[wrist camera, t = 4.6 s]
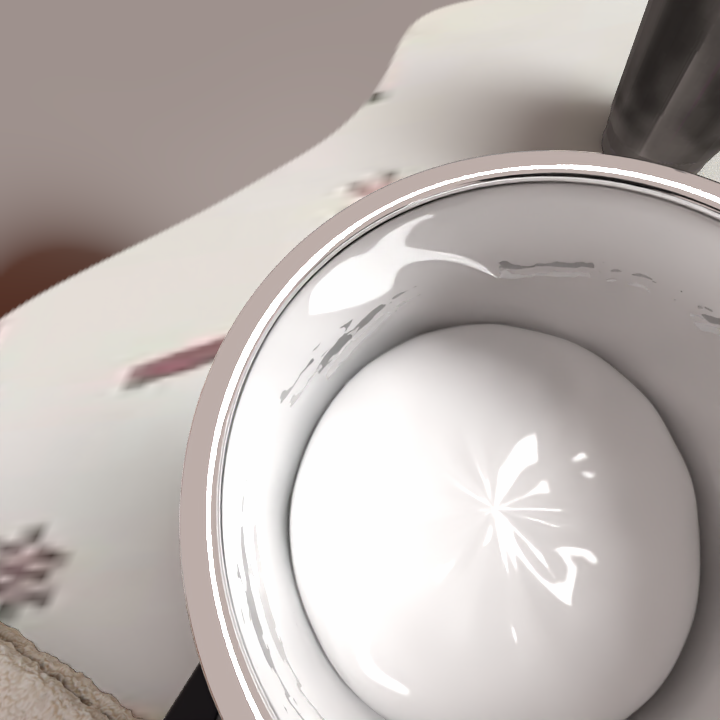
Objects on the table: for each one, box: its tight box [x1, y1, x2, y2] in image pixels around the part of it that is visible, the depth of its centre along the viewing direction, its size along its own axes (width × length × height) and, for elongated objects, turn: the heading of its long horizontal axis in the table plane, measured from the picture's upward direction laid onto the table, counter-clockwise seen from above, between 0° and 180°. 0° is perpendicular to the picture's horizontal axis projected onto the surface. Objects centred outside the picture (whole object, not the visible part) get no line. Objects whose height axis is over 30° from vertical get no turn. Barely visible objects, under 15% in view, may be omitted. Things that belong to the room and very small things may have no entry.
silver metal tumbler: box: [179, 150, 720, 720], centre depth 11 cm, size 7×7×15 cm
